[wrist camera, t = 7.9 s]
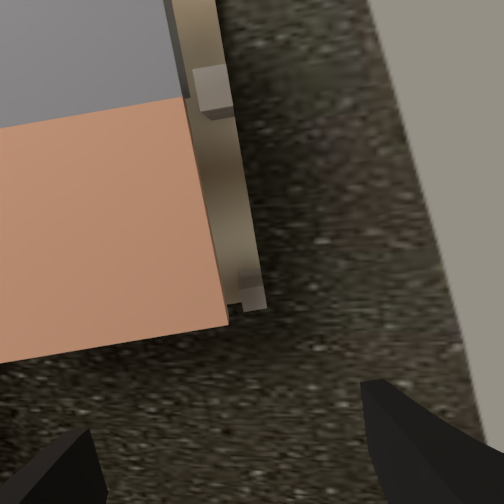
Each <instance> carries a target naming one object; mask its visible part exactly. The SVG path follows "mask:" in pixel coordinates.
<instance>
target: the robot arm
mask: <svg viewBox="0 0 504 504" xmlns="http://www.w3.org/2000/svg"><path fill="white" fill-rule="evenodd" d="M360 386H361V395H362V403H363V411H364V420H365V428H366V436H367V444H368V451H369V454H370V457H371V460H372V462H373V465H374V468H375V471H376V474H377V477H378V480H379V483H380V485H381V488H382V490H383V492H384V494H385V496H386V499H387V501H388V503H389V504H504V453H502V452H500V451H498V450H496V449H494V448H492V447H490V446H487V445H486V444H484V443H482V442H480V441H478V440H476V439H474V438H472V437H471V436H469V435H467V434H465V433H464V432H462V431H460V430H459V429H457V428H455V427H453V426H452V425H450V424H448V423H447V422H445V421H444V420H442V419H440V418H439V417H437V416H436V415H434V414H433V413H431V412H430V411H428V410H427V409H425V408H424V407H422V406H421V405H419V404H418V403H416V402H415V401H414V400H412V399H411V398H409V397H408V396H407V395H405V394H404V393H403V392H401V391H400V390H398V389H397V388H396V387H394V386H393V385H391V384H390V383H389V382H387V381H386V380H384V379H378V380H372V381H366V382H360ZM107 495H108V490H107V487H106V483H105V480H104V477H103V473H102V470H101V466H100V463H99V460H98V456H97V453H96V449H95V446H94V443H93V439H92V436H91V432H90V429H89V428H83V429H77V430H71V431H66V432H65V433H63V434H62V435H61V436H59V437H58V438H57V439H55V440H54V441H53V442H52V443H50V444H49V445H48V446H47V447H46V448H44V449H43V450H42V451H41V452H40V453H39V454H37V455H36V456H35V457H34V458H33V459H32V460H31V461H29V462H28V463H27V464H26V465H25V466H24V467H22V468H21V469H20V470H19V471H18V472H17V473H15V474H14V475H13V476H12V477H11V478H10V479H8V480H7V481H6V482H5V483H4V484H3V485H1V486H0V504H106V500H107Z"/></svg>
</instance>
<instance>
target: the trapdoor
mask: <svg viewBox="0 0 504 504" xmlns="http://www.w3.org/2000/svg"><path fill="white" fill-rule="evenodd" d="M187 98H191V96H190V91H189V86H188V81H187V76H186V71H185V66H184V61H183V56H182V51H181V46H180V41H179V36H178V30H177V25H176V20H175V15H174V10H173V5H172V0H0V363H5V362H11V361H17V360H23V359H29V358H35V357H41V356H47V355H53V354H59V353H65V352H70V351H76V350H82V349H88V348H94V347H100V346H106V345H112V344H118V343H124V342H130V341H136V340H142V339H148V338H154V337H160V336H166V335H172V334H177V333H183V332H189V331H195V330H201V329H207V328H213V327H219V326H225V325H229V314H228V309H227V304H226V299H225V294H224V289H223V284H222V279H221V274H220V269H219V264H218V259H217V254H216V249H215V244H214V239H213V234H212V229H211V224H210V219H209V214H208V209H207V204H206V199H205V194H204V190H203V185H202V180H201V175H200V170H199V165H198V160H197V155H196V150H195V145H194V140H193V135H192V130H191V125H190V120H189V115H188V110H187V105H186V100H185V99H187Z"/></svg>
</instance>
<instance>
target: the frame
mask: <svg viewBox="0 0 504 504" xmlns="http://www.w3.org/2000/svg"><path fill="white" fill-rule="evenodd" d="M172 5H173V10H174V15H175V20H176V25H177V30H178V36H179V41H180V46H181V51H182V56H183V61H184V66H185V71H186V76H187V81H188V86H189V91H190V96H191V98H187V99H185V100H186V105H187V110H188V115H189V120H190V125H191V130H192V135H193V140H194V145H195V150H196V155H197V160H198V165H199V170H200V175H201V180H202V185H203V190H204V194H205V199H206V204H207V209H208V214H209V219H210V224H211V229H212V234H213V239H214V244H215V249H216V254H217V259H218V264H219V269H220V274H221V279H222V284H223V289H224V294H225V299H226V304H233V303H239V302H242V306H243V311H244V312H247V311H253V310H259V309H265V308H267V304H266V298H265V292H264V286H263V280H262V275H261V269H260V263H259V257H258V251H257V245H256V240H255V234H254V228H253V222H252V216H251V210H250V204H249V198H248V192H247V186H246V181H245V175H244V169H243V163H242V157H241V151H240V145H239V139H238V133H237V127H236V122H235V115H234V109H233V102H232V96H231V90H230V85H229V79H228V73H227V67H226V63H225V57H224V51H223V45H222V39H221V33H220V27H219V21H218V15H217V10H216V4H215V0H172Z"/></svg>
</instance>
